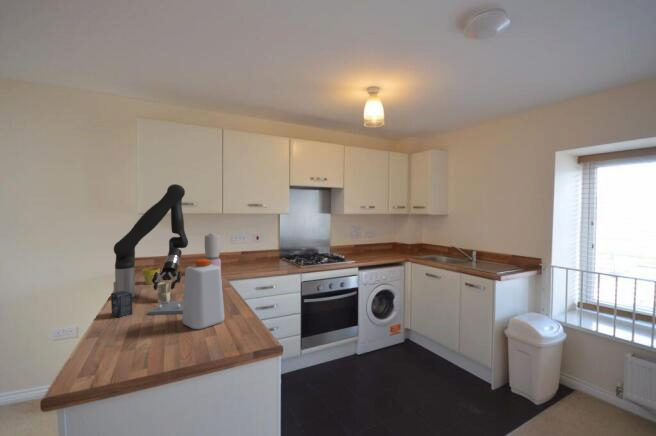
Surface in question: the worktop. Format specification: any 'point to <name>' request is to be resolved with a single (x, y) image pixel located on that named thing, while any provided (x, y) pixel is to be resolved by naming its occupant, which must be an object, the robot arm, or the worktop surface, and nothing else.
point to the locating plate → (168, 308)
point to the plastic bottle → (203, 295)
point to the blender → (213, 248)
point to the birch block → (163, 291)
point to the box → (121, 303)
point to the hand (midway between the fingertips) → (163, 289)
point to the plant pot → (150, 274)
